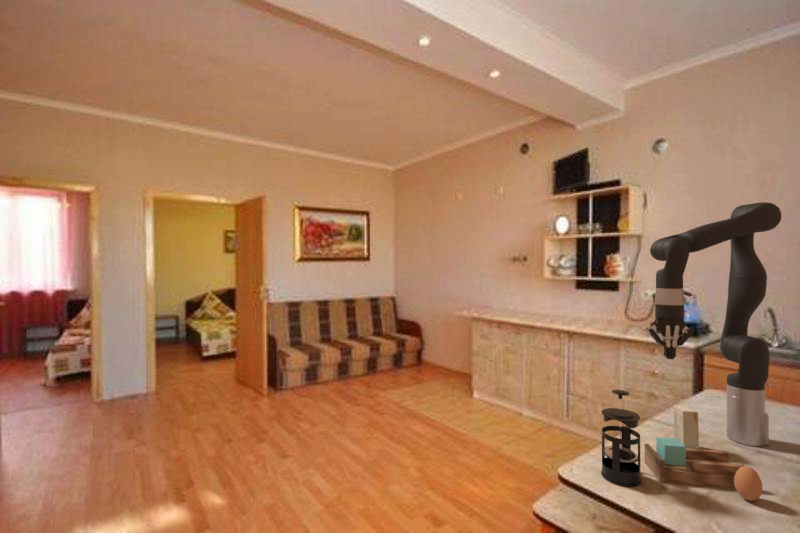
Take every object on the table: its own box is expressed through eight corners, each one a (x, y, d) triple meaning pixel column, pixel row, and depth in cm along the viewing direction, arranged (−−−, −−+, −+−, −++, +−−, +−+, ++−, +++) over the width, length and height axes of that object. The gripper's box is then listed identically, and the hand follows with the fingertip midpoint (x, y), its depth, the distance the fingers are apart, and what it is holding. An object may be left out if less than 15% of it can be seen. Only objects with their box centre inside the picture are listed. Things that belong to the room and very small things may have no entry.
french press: (635, 492, 100) (635, 400, 100) (595, 479, 106) (594, 392, 106) (646, 474, 108) (646, 389, 108) (608, 462, 115) (608, 382, 115)
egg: (728, 494, 99) (728, 461, 99) (747, 492, 99) (747, 460, 99) (748, 506, 94) (748, 472, 94) (768, 505, 94) (768, 471, 94)
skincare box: (699, 453, 120) (699, 412, 119) (683, 452, 120) (683, 411, 120) (688, 443, 126) (688, 404, 126) (673, 442, 127) (673, 404, 127)
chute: (724, 468, 111) (724, 449, 111) (748, 489, 101) (748, 467, 101) (644, 462, 114) (644, 443, 114) (660, 481, 105) (660, 460, 105)
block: (676, 456, 111) (676, 438, 110) (685, 465, 106) (685, 446, 106) (656, 455, 112) (656, 437, 111) (664, 464, 107) (664, 445, 107)
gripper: (687, 301, 127) (687, 356, 127) (641, 301, 129) (641, 355, 130) (700, 304, 120) (700, 362, 120) (651, 303, 122) (651, 360, 122)
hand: (669, 358), depth 125 cm, fingers closed
